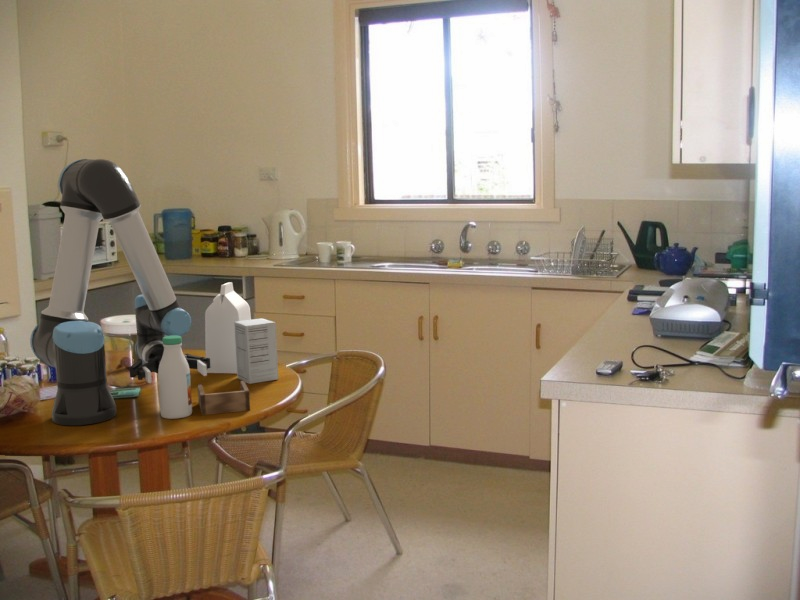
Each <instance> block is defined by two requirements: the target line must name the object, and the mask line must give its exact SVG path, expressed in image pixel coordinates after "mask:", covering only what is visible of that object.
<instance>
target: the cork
mask: <svg viewBox="0 0 800 600" xmlns="http://www.w3.org/2000/svg"><path fill="white" fill-rule="evenodd" d="M130 338H131V341H132V342H133V346H132V358H133V359H134V363H136V362H137V359H139V357H138V355H137V354H136V351H135V345H136V342H137V335H132V334H131V336H130Z"/></svg>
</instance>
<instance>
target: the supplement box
mask: <svg viewBox="0 0 800 600" xmlns="http://www.w3.org/2000/svg"><path fill="white" fill-rule="evenodd" d="M234 326H235V342H236V362H237V373H236V375H237V376H236V378H237V379H239V380H240V381H245V383H246V384H249V385H251V384H257V383H263V382H270V381H275V380H276V381H277V380H279V369H278V368H279V367H278V365H279V363H278V349H277V348H278V345H277V343H278V342H277V323H276V322H275V321H272V320H268V319H266V318H263V317H262V318H261V317H259V318H253V319H252V318H251V320H244V321H237V322H234Z"/></svg>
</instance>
